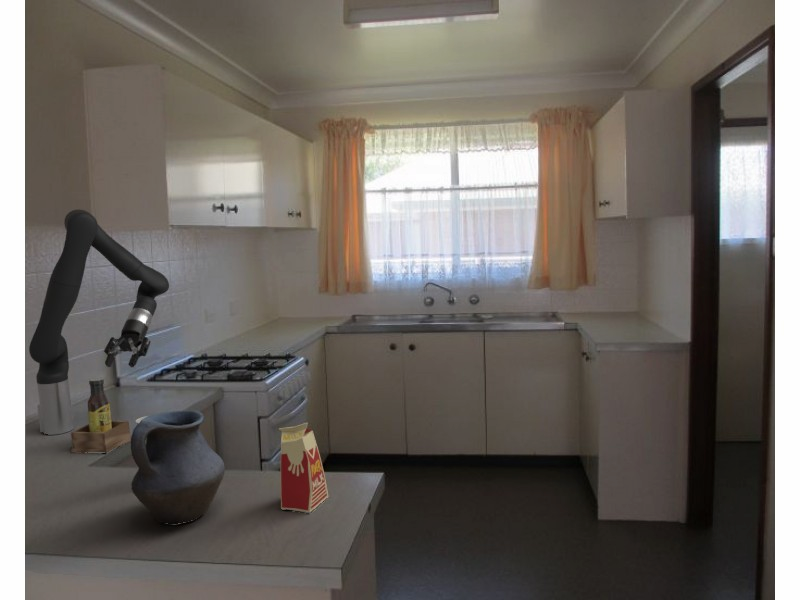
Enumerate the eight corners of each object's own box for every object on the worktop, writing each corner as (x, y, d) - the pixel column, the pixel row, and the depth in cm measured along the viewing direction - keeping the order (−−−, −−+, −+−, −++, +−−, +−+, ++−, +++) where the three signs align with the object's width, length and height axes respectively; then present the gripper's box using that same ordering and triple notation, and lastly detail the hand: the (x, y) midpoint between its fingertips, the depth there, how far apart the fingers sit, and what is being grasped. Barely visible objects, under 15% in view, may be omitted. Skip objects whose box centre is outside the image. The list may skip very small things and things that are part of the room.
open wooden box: (71, 452, 198) (68, 432, 197) (98, 438, 210) (96, 419, 209) (106, 454, 195) (104, 434, 194) (132, 439, 207) (130, 420, 206)
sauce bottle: (104, 446, 198) (97, 382, 196) (86, 445, 200) (79, 382, 197) (117, 438, 205) (111, 376, 202) (100, 438, 206) (93, 376, 203)
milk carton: (328, 497, 157) (323, 417, 155) (311, 514, 149) (305, 429, 146) (294, 493, 160) (289, 415, 158) (276, 510, 152) (269, 427, 149)
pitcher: (246, 503, 156) (238, 402, 153) (182, 546, 137) (171, 431, 133) (179, 491, 165) (170, 395, 162) (110, 531, 145) (98, 423, 142)
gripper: (112, 318, 219) (93, 359, 209) (150, 318, 216) (132, 359, 206) (124, 331, 225) (106, 371, 215) (161, 330, 221) (144, 372, 212)
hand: (119, 366), depth 211 cm, fingers open, 8 cm apart
